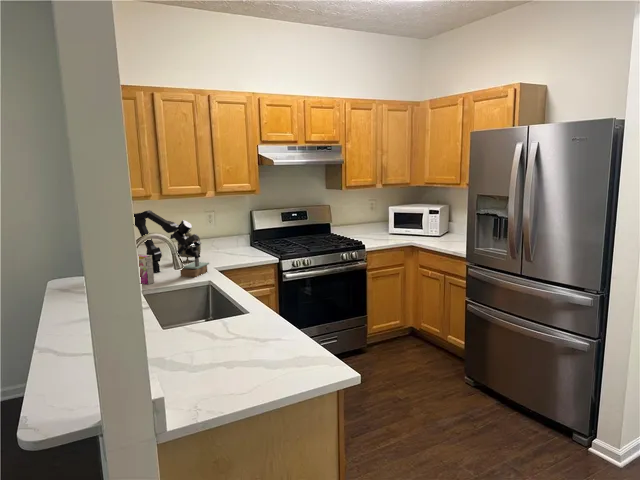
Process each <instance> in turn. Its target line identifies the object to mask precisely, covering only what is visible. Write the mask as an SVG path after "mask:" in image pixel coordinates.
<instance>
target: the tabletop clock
mask: <svg viewBox="0 0 640 480" xmlns="http://www.w3.org/2000/svg"><path fill="white" fill-rule="evenodd" d="M191 231H192V229H190V230H189V231H188V232H187V234H184V235H185V236H186V237H190V236H192V235H193V234H192V233H191ZM196 241H200V242H201V239H200V237H199V236H198V240H195V241H193V242H196ZM192 244H193V243H192ZM180 247H181V245H178V244H177V250H178V249H179V248H180ZM197 250H198V252H199V254H200V255H201V250H202V249H201V245H200V246H199V247H198V248H197ZM184 253H185V250H184V251H183V252H182V254H181V255H180V256H179V257H181V258H186V260H185V261H186V263H187V264H190V260H189V259H190V258H193V257H192V256H189V255H187V254H184Z"/></svg>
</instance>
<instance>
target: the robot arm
mask: <svg viewBox="0 0 640 480" xmlns="http://www.w3.org/2000/svg"><path fill="white" fill-rule="evenodd" d="M133 214H134V217H135V225H134V227H136V228H137V229H138V232H139V234H140V237H141V236H143V235H145V234H148V233H149V234H150V232H149V231H148V227H147V225H146V224H147V222H146V221H147V220H146V219H148V220H150V221H152V222H154V223H155V224H157V225H158V226H160V227H161V228H162V230H163V231H165V232H166V233H167V234H170V237H169V238H170V240H172V239H174V240H175V241H176V242H177V246H178V245H181V247H180V248H179V249H178V248H177V251H176V252H178V253H177V255H178V256H179V255H181V254H182V252H183V251H184V250H185V253H184V254H187V255H189V256H192V258H194V259H195V258H198V256H197V255H196V253H195V252H194V251H198V250H197V248H198V247H199V246H200V247H201V244H202V242H201V240H200V241H196V242H193V241H195V240H198V237H199V235H198V234H197V233H194V234H192V236H190V237H186V236H185V234H187V232H188V231H190V230H192V228H193V226H192V223H190V222H189V221H186V219H183V220H181V222H180V223H179V224H178V223H176V222H174V221H172V220H171V221H170V220H168V219H164V218H163V217H161V216H160V215H158V214H157V213H155V212H154V211H153V210H150V209H149V210H145V211H142V212H136V213H133ZM172 233H173V234H172ZM143 243H144V245H145V247H146V254H145V255H152V261H153V273H154V274H156V273H161V268H160V267H161V266H160V264H159V263H160V262H161V259H162V256H163V254H162V250H161V249H160V247H159V246H158V247H157V246H155V243H154V242H153V239H152V238H151V240H147V241H146V242H144V241H143ZM192 243H193V244H192ZM198 255H199V259H200V258H201V253H200V254H199V252H198Z"/></svg>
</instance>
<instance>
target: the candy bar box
mask: <svg viewBox="0 0 640 480" xmlns="http://www.w3.org/2000/svg"><path fill="white" fill-rule="evenodd" d="M137 254H138V256H139V267H140V277H141V283H143V285H152V284H155V276H154V275H155V273H153V261H152V255H147V254H144V253H143V254H142V253H137ZM141 283H140V284H141ZM151 283H152V284H151Z"/></svg>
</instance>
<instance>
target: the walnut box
mask: <svg viewBox="0 0 640 480" xmlns="http://www.w3.org/2000/svg"><path fill="white" fill-rule="evenodd" d="M181 269H182V270H179V272H180V277H181V278H194V277H196V278H198V277H200V276H202V275H204V274H207V273H208V265H206V266H203V267H201V268H199V269H185V268H181ZM206 272H207V273H206ZM201 274H202V275H201ZM199 275H200V276H199ZM197 276H198V277H197Z"/></svg>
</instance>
